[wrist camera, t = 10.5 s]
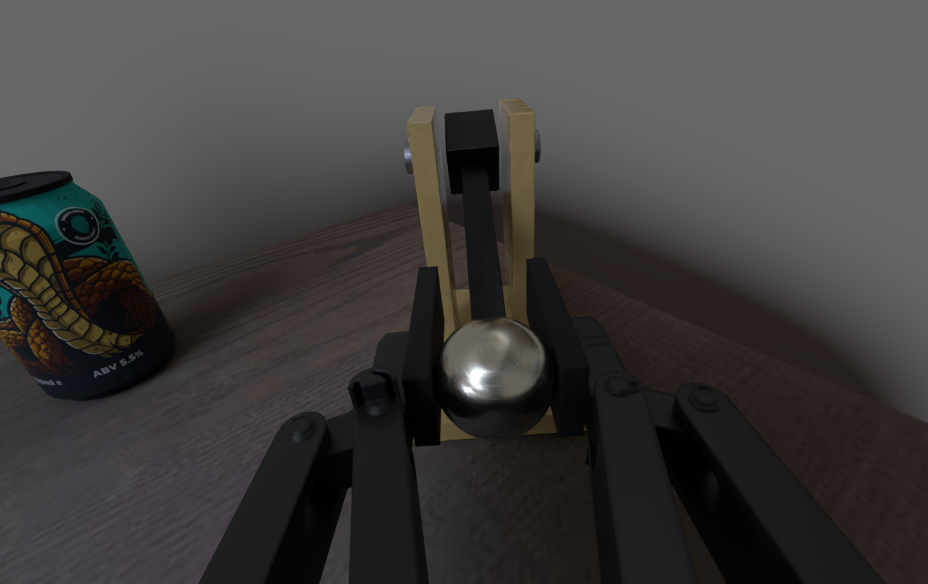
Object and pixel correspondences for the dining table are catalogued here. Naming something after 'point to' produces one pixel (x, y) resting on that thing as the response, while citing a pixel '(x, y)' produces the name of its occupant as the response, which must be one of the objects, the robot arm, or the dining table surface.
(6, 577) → the dining table surface
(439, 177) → the switch bracket
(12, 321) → the beverage can
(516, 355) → the switch lever
